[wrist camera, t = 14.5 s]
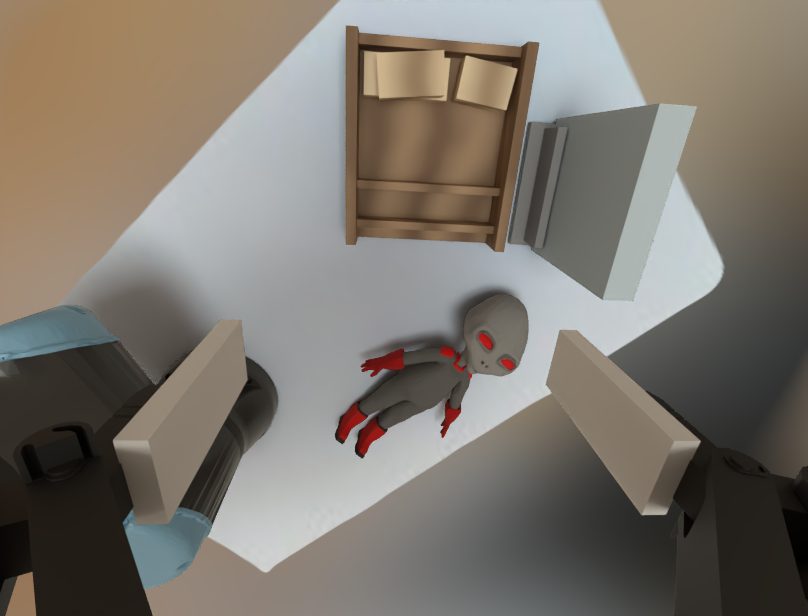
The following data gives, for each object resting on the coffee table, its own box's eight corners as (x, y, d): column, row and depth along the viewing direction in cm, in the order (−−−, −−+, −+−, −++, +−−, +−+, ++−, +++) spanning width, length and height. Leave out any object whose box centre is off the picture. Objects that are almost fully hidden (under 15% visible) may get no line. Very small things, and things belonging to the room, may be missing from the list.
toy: (303, 420, 49) (491, 288, 37) (323, 372, 57) (482, 251, 45) (388, 481, 54) (577, 382, 42) (394, 429, 62) (554, 334, 50)
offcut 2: (379, 100, 36) (379, 98, 34) (376, 57, 35) (376, 52, 33) (441, 97, 36) (444, 95, 34) (441, 54, 35) (444, 50, 33)
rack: (349, 234, 44) (345, 244, 40) (350, 40, 37) (345, 25, 32) (491, 241, 45) (503, 252, 41) (520, 55, 38) (539, 42, 33)
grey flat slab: (556, 118, 39) (659, 103, 25) (580, 120, 40) (697, 106, 25) (530, 249, 45) (602, 299, 30) (551, 250, 45) (633, 301, 30)
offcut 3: (451, 101, 38) (456, 98, 36) (459, 62, 37) (466, 55, 34) (497, 112, 39) (506, 110, 36) (507, 74, 38) (517, 68, 35)
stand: (571, 245, 46) (590, 254, 42) (507, 241, 45) (520, 251, 41) (599, 127, 41) (624, 125, 37) (528, 122, 40) (544, 120, 36)
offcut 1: (364, 97, 38) (363, 94, 36) (365, 55, 36) (364, 51, 34) (443, 103, 38) (446, 100, 36) (447, 62, 37) (450, 58, 35)
